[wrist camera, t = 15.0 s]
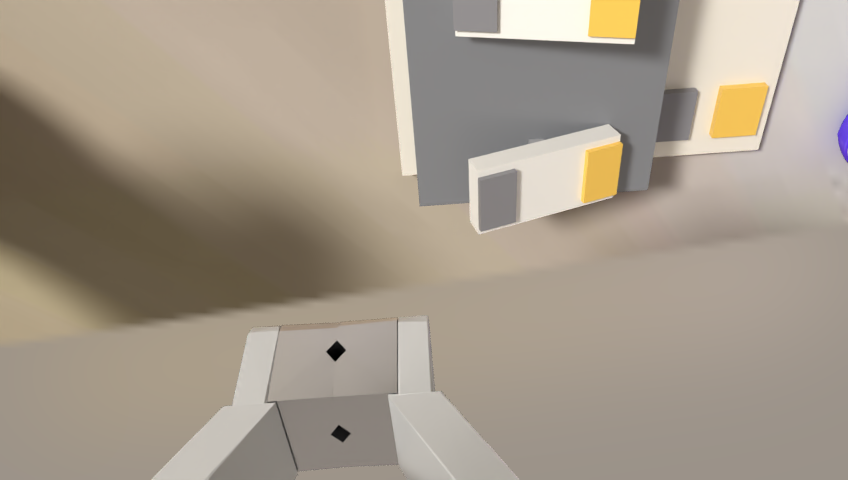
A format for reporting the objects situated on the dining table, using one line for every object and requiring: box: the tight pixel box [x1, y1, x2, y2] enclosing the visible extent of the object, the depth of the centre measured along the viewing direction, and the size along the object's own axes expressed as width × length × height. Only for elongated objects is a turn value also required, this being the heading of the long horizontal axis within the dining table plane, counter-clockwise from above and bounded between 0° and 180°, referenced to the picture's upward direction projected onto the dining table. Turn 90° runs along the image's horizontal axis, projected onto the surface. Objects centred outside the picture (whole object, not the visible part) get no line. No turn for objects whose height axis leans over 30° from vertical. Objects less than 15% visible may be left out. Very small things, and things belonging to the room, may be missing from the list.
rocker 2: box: [468, 124, 623, 234], centre depth 37 cm, size 8×4×2 cm, turn 94°
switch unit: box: [385, 0, 800, 206], centre depth 37 cm, size 22×16×6 cm
